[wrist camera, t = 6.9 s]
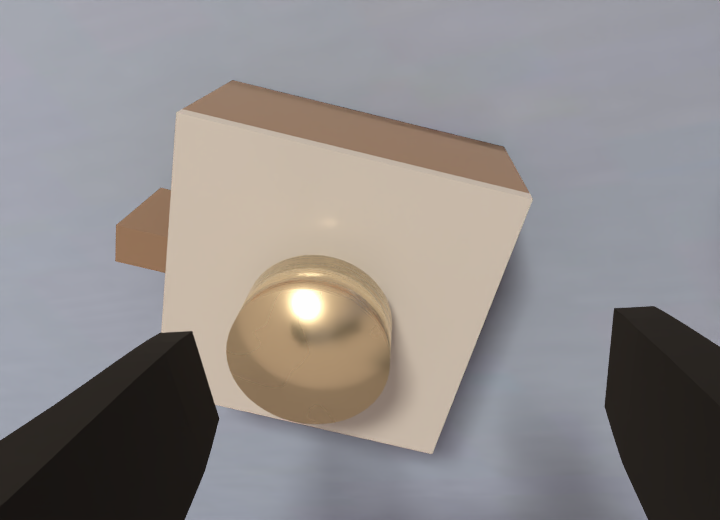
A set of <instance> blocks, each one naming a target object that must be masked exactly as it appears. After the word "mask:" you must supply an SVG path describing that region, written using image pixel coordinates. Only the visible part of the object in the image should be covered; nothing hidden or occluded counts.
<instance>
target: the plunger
mask: <svg viewBox="0 0 720 520" xmlns="http://www.w3.org/2000/svg"><path fill="white" fill-rule="evenodd" d="M391 333H392V315H391V310H390V306H389V303H388V301H387V298H386V296H385V295H384V293H383V291H382V290H381V288H380V287H379V286H378V284H377V283H376V282H375V281H374V280H373V279H372V278H371V277H370V276H369V275H368V274H366V273H365V272H364V271H362V270H361V269H359V268H358V267H356V266H354V265H353V264H350V263H348V262H346V261H343V260H340V259H337V258H334V257H329V256H323V255H302V256H297V257H292V258H289V259H286V260H283V261H281V262H279V263H276V264H275V265H273V266H271V267H270V268H268V269H267V270H266V271H265V272H264V273H263V274H261V275H260V277H259V278H258V279H257V280H256V281H255V283H254V285H253V286H252V288H251V290H250V292H249V294H248V296H247V298H246V300H245V301H244V303H243V305H242V307H241V309H240V311H239V313H238V315H237V317H236V319H235V321H234V323H233V325H232V327H231V329H230V332H229V334H228V339H227V345H226V355H227V362H228V366H229V369H230V372H231V374H232V377H233V378H234V380H235V382H236V383H237V385H238V386H239V388H240V389H241V390H242V392H243V393H244V394H245V395H246V396H247V397H248V398H249V399H250V400H251V401H253V402H254V403H255V404H256V405H258V406H259V407H261V408H262V409H264V410H265V411H267V412H269V413H271V414H273V415H275V416H278V417H280V418H283V419H286V420H289V421H293V422H298V423H304V424H328V423H335V422H339V421H343V420H346V419H349V418H351V417H353V416H355V415H357V414H359V413H361V412H363V411H364V410H365V409H367V408H368V407H369V406H370V405H372V404H373V403H374V402H375V401H376V399H377V398H378V397H379V396H380V394H381V393H382V391H383V389H384V387H385V385H386V382H387V380H388V376H389V370H390V352H391Z"/></svg>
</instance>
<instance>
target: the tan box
mask: <svg viewBox="0 0 720 520" xmlns="http://www.w3.org/2000/svg"><path fill="white" fill-rule="evenodd" d="M532 200H533V199H532V197H531V195H530V193H529V191H528V189H527V188H526V186H525V184H524V182H523V180H522V179H521V177H520V175H519V173H518V171H517V170H516V168H515V166H514V164H513V162H512V160H511V159H510V157H509V155H508V153H507V151H506V150H505V148H504V147H503V146H499V145H494V144H490V143H486V142H482V141H478V140H474V139H470V138H466V137H462V136H458V135H454V134H450V133H446V132H441V131H437V130H433V129H429V128H425V127H421V126H417V125H413V124H409V123H405V122H401V121H397V120H393V119H388V118H384V117H380V116H376V115H372V114H368V113H364V112H360V111H356V110H352V109H348V108H344V107H340V106H335V105H331V104H327V103H323V102H319V101H315V100H311V99H307V98H303V97H299V96H295V95H291V94H287V93H282V92H278V91H274V90H270V89H266V88H262V87H258V86H254V85H250V84H246V83H242V82H238V81H234V80H232V81H230V82H229V83H227V84H225V85H223V86H222V87H220V88H218V89H216V90H215V91H213V92H211V93H210V94H208V95H206V96H204V97H203V98H201V99H199V100H197V101H196V102H194V103H192V104H190V105H189V106H187V107H185V108H183V109H182V110H180V111H178V112H176V125H175V140H174V155H173V169H172V184H171V190H168V189H164V188H160V189H159V190H157V191H156V192H155V193H154V194H153V195H151V196H150V197H149V198H148V199H147V200H145V201H144V202H143V203H142V204H141V205H140V206H138V207H137V208H136V209H135V210H134V211H132V212H131V213H130V214H129V215H128V216H126V217H125V218H124V219H123V220H122V221H120V222H119V223H118V224H117V225H116V259H115V261H117V262H121V263H126V264H130V265H134V266H138V267H143V268H147V269H151V270H156V271H160V272H164V273H165V287H164V301H163V316H162V331H161V333H165V332H184V331H192V332H193V335H194V338H195V341H196V345H197V348H198V351H199V354H200V358H201V361H202V364H203V367H204V371H205V374H206V377H207V381H208V384H209V387H210V390H211V394H212V397H213V400H214V403H215V405H219V406H223V407H228V408H232V409H236V410H241V411H245V412H250V413H254V414H258V415H263V416H267V417H272V418H276V419H280V420H285V421H289V420H286V419H283V418H280V417H278V416H275V415H273V414H271V413H269V412H267V411H265V410H264V409H262V408H261V407H259V406H258V405H256V404H255V403H254V402H253V401H251V400H250V399H249V398H248V397H247V396H246V395H245V394H244V393H243V392H242V390H241V389H240V388H239V386H238V385H237V383H236V382H235V380H234V378H233V377H232V374H231V372H230V369H229V366H228V362H227V355H226V345H227V339H228V334H229V332H230V329H231V327H232V325H233V323H234V321H235V319H236V317H237V315H238V313H239V311H240V309H241V307H242V305H243V303H244V301H245V300H246V298H247V296H248V294H249V292H250V290H251V288H252V286H253V285H254V283H255V281H256V280H257V279H258V278H259V277H260V275H261V274H263V273H264V272H265V271H266V270H267V269H268V268H270V267H271V266H273V265H275V264H276V263H279V262H281V261H283V260H286V259H289V258H292V257H297V256H302V255H323V256H329V257H334V258H337V259H340V260H343V261H346V262H348V263H350V264H353V265H354V266H356V267H358V268H359V269H361V270H362V271H364V272H365V273H366V274H368V275H369V276H370V277H371V278H372V279H373V280H374V281H375V282H376V283H377V284H378V286H379V287H380V288H381V290H382V291H383V293H384V295H385V296H386V298H387V301H388V303H389V306H390V310H391V315H392V333H391V352H390V370H389V376H388V380H387V382H386V385H385V387H384V389H383V391H382V393H381V394H380V396H379V397H378V398H377V399H376V401H375V402H374V403H373V404H372V405H370V406H369V407H368V408H367V409H365V410H364V411H363V412H361V413H359V414H357V415H355V416H353V417H351V418H349V419H346V420H343V421H339V422H335V423H328V424H304V423H298V422H293V421H289V422H293V423H298V424H302V425H307V426H311V427H315V428H320V429H324V430H329V431H333V432H337V433H342V434H346V435H350V436H355V437H359V438H364V439H368V440H372V441H377V442H381V443H386V444H390V445H394V446H399V447H403V448H407V449H412V450H416V451H421V452H425V453H429V454H432V453H433V451H434V448H435V446H436V443H437V441H438V438H439V435H440V433H441V430H442V428H443V425H444V423H445V420H446V418H447V415H448V413H449V410H450V408H451V405H452V403H453V400H454V397H455V395H456V392H457V390H458V387H459V385H460V382H461V380H462V377H463V375H464V372H465V370H466V367H467V365H468V362H469V359H470V357H471V354H472V352H473V349H474V347H475V344H476V342H477V339H478V337H479V334H480V332H481V329H482V327H483V324H484V321H485V319H486V316H487V314H488V311H489V309H490V306H491V304H492V301H493V299H494V296H495V294H496V291H497V289H498V286H499V284H500V281H501V278H502V276H503V273H504V271H505V268H506V266H507V263H508V261H509V258H510V256H511V253H512V251H513V248H514V246H515V243H516V240H517V238H518V235H519V233H520V230H521V228H522V225H523V223H524V220H525V218H526V215H527V213H528V210H529V208H530V205H531V202H532Z"/></svg>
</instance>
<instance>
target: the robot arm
mask: <svg viewBox="0 0 720 520" xmlns="http://www.w3.org/2000/svg"><path fill="white" fill-rule="evenodd" d="M605 409H606V413H607V416H608V419H609V422H610V426H611V429H612V432H613V436H614V439H615V442H616V445H617V448H618V451H619V454H620V457H621V460H622V463H623V465H624V468H625V470H626V472H627V474H628V477H629V479H630V481H631V483H632V485H633V488H634V490H635V492H636V494H637V496H638V498H639V501H640V503H641V505H642V507H643V509H644V512H645V514H646V516H647V518H648V520H720V347H719V346H718V345H716V344H715V343H713V342H711V341H710V340H708V339H707V338H705V337H704V336H702V335H701V334H699V333H697V332H696V331H694V330H693V329H691V328H690V327H688V326H686V325H685V324H683V323H682V322H680V321H678V320H677V319H675V318H674V317H672V316H670V315H669V314H667V313H665V312H664V311H662V310H660V309H658V308H656V307H655V306H650V307H631V308H614V315H613V325H612V336H611V346H610V356H609V367H608V377H607V387H606V398H605ZM218 421H219V416H218V413H217V410H216V407H215V403H214V400H213V397H212V394H211V390H210V387H209V384H208V381H207V377H206V374H205V371H204V367H203V364H202V361H201V358H200V354H199V351H198V348H197V345H196V341H195V338H194V335H193V332H192V331H184V332H165V333H159V334H157V335H156V336H154V337H152V338H150V339H149V340H147V341H146V342H144V343H143V344H141V345H139V346H138V347H136V348H135V349H133V350H132V351H131V352H129V353H128V354H126V355H125V356H123V357H122V358H120V359H119V360H118V361H116V362H115V363H113V364H112V365H110V366H109V367H108V368H106V369H105V370H103V371H102V372H101V373H99V374H98V375H96V376H95V377H93V378H92V379H91V380H89V381H88V382H86V383H85V384H84V385H82V386H81V387H79V388H78V389H76V390H75V391H74V392H72V393H71V394H69V395H68V396H66V397H65V398H64V399H62V400H61V401H59V402H58V403H56V404H55V405H54V406H52V407H51V408H49V409H47V410H46V411H44V412H43V413H41V414H40V415H38V416H37V417H35V418H34V419H32V420H31V421H29V422H28V423H26V424H25V425H23V426H22V427H20V428H19V429H17V430H16V431H14V432H13V433H11V434H10V435H8V436H7V437H5V438H3V439H2V440H0V520H185V517H186V515H187V513H188V510H189V508H190V506H191V503H192V501H193V498H194V496H195V494H196V491H197V489H198V486H199V484H200V481H201V479H202V477H203V474H204V472H205V469H206V465H207V462H208V458H209V455H210V451H211V448H212V444H213V440H214V437H215V433H216V429H217V425H218Z"/></svg>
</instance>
